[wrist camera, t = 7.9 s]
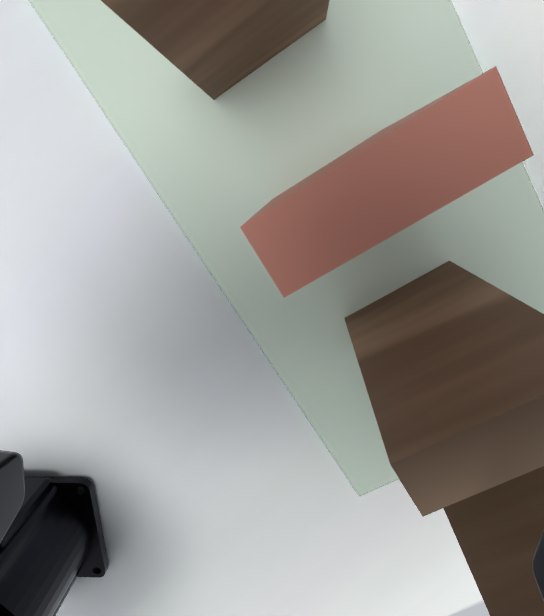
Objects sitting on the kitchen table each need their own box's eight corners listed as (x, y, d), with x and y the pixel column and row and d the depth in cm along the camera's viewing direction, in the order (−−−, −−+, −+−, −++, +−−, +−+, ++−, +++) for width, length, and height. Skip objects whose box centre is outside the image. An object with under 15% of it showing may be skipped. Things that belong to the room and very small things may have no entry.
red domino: (400, 166, 17) (533, 155, 7) (292, 232, 18) (284, 297, 8) (381, 129, 16) (496, 66, 7) (272, 198, 17) (239, 226, 8)
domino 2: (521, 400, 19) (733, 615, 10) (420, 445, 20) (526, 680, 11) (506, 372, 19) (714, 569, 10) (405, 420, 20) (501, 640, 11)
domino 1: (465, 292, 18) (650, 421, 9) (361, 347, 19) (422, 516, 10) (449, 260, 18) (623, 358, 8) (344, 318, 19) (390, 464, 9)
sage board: (610, 376, 19) (618, 381, 19) (357, 489, 22) (359, 496, 22) (296, -332, 13) (296, -351, 13) (-3, -54, 16) (-13, -61, 15)
